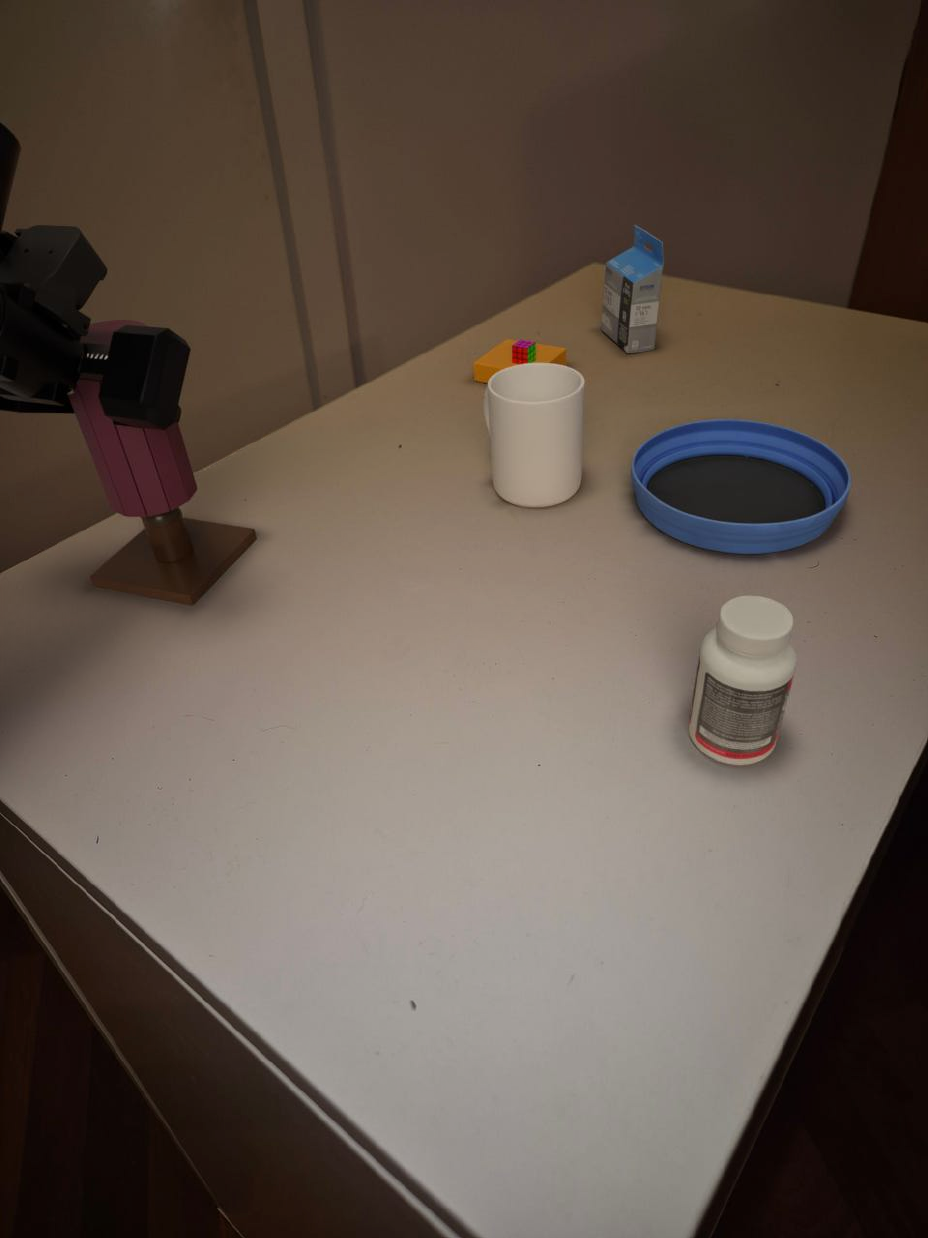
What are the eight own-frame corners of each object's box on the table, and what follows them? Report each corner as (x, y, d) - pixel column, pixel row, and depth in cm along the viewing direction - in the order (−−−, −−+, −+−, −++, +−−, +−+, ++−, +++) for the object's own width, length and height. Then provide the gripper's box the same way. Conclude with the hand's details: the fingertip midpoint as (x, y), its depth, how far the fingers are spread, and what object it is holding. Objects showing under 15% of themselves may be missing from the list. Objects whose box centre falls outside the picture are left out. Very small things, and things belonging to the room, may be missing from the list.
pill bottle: (792, 757, 51) (826, 636, 45) (710, 776, 50) (734, 656, 44) (749, 697, 55) (775, 579, 49) (673, 714, 54) (690, 596, 48)
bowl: (587, 499, 75) (588, 464, 73) (718, 434, 83) (722, 401, 81) (751, 589, 64) (758, 551, 62) (885, 504, 72) (896, 467, 69)
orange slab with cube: (473, 380, 97) (471, 345, 94) (507, 356, 102) (506, 321, 99) (534, 392, 93) (534, 355, 91) (566, 366, 99) (567, 330, 96)
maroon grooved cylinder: (202, 503, 66) (154, 342, 58) (114, 525, 64) (51, 362, 56) (190, 466, 71) (143, 313, 63) (108, 486, 69) (49, 331, 61)
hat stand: (192, 605, 67) (171, 542, 63) (92, 586, 70) (66, 524, 66) (257, 538, 74) (241, 477, 70) (164, 522, 77) (143, 464, 73)
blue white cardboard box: (599, 330, 107) (604, 227, 99) (629, 325, 107) (636, 223, 100) (626, 355, 100) (633, 247, 92) (657, 350, 101) (667, 242, 93)
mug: (454, 468, 81) (446, 366, 75) (523, 442, 85) (521, 342, 78) (526, 520, 73) (524, 411, 67) (600, 490, 76) (604, 383, 70)
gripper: (124, 193, 47) (266, 319, 62) (-114, 188, 53) (68, 305, 68) (80, 382, 47) (234, 464, 61) (-157, 356, 52) (36, 437, 67)
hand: (139, 411), depth 64 cm, fingers closed on maroon grooved cylinder, 7 cm apart
